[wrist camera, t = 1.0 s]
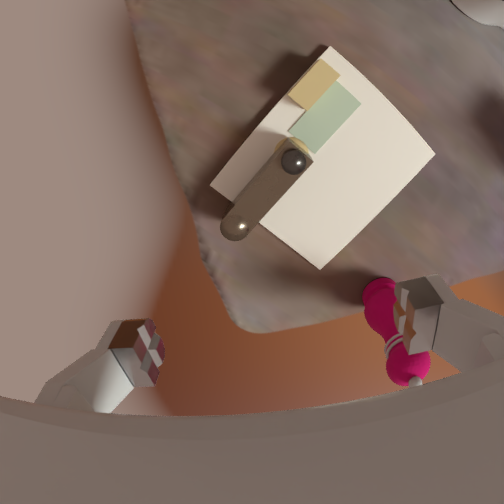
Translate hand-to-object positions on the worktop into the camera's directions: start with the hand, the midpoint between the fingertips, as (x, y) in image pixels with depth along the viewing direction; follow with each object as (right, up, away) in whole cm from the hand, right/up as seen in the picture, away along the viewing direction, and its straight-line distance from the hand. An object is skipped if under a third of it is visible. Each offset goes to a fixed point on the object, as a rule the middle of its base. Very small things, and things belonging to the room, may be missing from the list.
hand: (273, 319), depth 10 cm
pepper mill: (+20, -5, +40) cm, 45 cm away
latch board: (+9, +14, +30) cm, 35 cm away
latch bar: (+1, +10, +31) cm, 33 cm away
